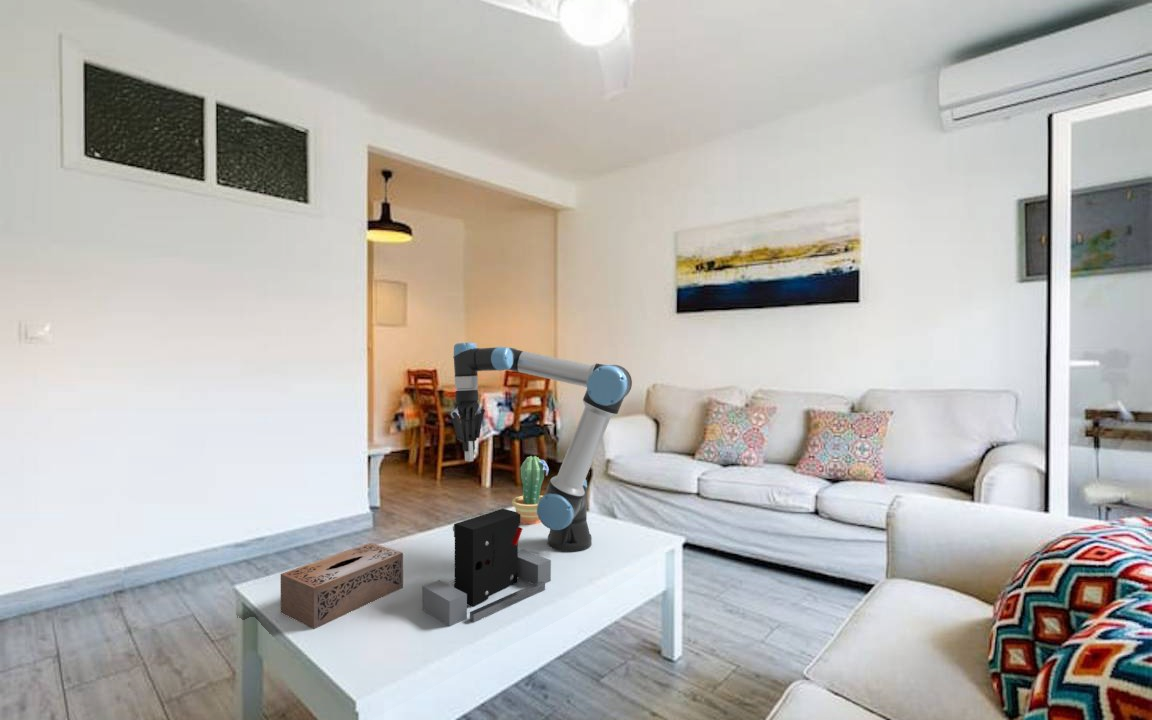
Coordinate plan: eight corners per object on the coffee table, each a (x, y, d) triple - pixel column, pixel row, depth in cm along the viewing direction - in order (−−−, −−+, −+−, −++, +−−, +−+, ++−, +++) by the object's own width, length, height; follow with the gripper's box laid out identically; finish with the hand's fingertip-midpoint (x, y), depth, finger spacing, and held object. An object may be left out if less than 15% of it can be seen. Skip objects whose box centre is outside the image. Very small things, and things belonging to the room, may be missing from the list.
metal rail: (541, 587, 144) (541, 580, 144) (545, 589, 143) (545, 582, 143) (469, 620, 127) (469, 612, 127) (473, 622, 126) (473, 614, 126)
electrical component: (497, 574, 153) (497, 507, 153) (522, 584, 147) (522, 513, 147) (449, 596, 139) (449, 522, 139) (474, 608, 133) (474, 530, 133)
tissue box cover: (314, 630, 122) (314, 587, 122) (280, 613, 130) (280, 574, 130) (402, 588, 144) (402, 552, 144) (369, 576, 152) (369, 542, 152)
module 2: (522, 569, 157) (522, 549, 157) (550, 580, 149) (550, 560, 149) (510, 574, 153) (510, 553, 153) (538, 586, 145) (538, 565, 145)
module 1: (439, 602, 136) (439, 579, 136) (466, 618, 127) (466, 594, 127) (422, 609, 132) (422, 585, 132) (449, 626, 124) (449, 601, 124)
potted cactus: (536, 529, 192) (536, 462, 192) (503, 522, 200) (503, 457, 200) (558, 518, 206) (558, 455, 205) (526, 512, 214) (527, 451, 213)
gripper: (475, 388, 179) (478, 456, 179) (443, 390, 170) (445, 463, 169) (489, 388, 174) (492, 458, 174) (456, 390, 165) (459, 465, 164)
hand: (469, 460), depth 172 cm, fingers closed
